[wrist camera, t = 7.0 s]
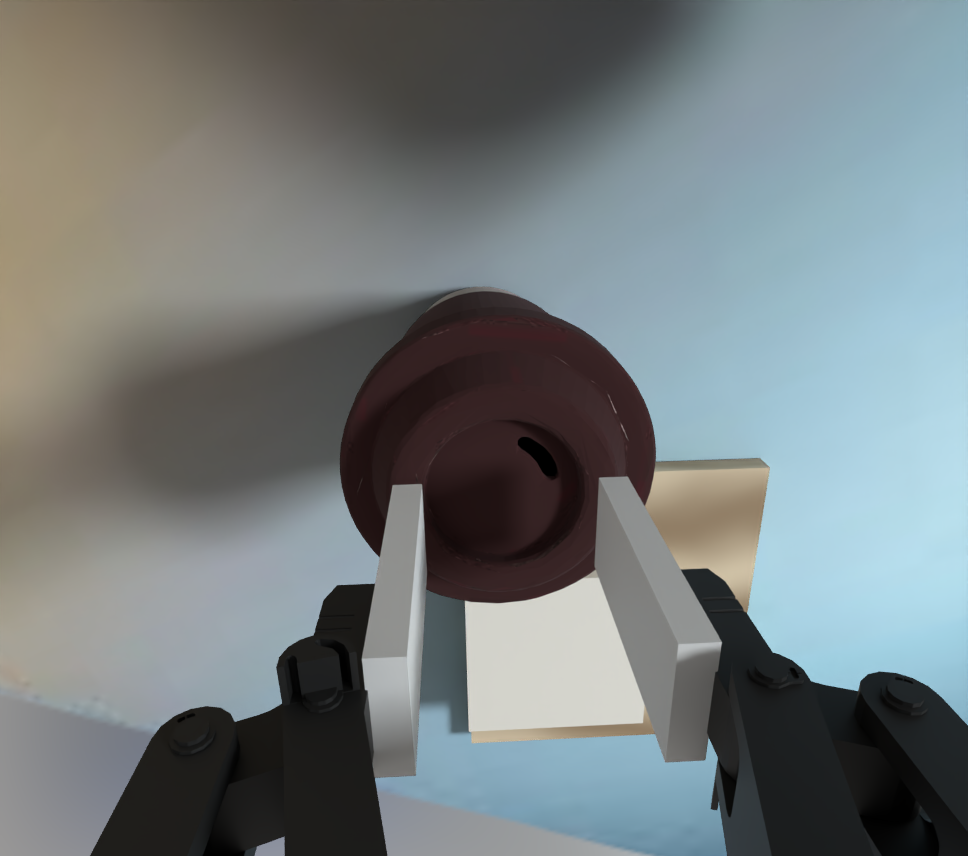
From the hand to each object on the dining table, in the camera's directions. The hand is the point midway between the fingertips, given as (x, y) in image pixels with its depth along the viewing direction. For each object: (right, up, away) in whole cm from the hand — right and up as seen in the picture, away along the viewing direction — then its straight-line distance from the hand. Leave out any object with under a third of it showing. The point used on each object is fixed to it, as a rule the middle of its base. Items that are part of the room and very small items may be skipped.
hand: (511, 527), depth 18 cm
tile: (+8, -9, +20) cm, 23 cm away
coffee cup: (-1, +6, +16) cm, 17 cm away
